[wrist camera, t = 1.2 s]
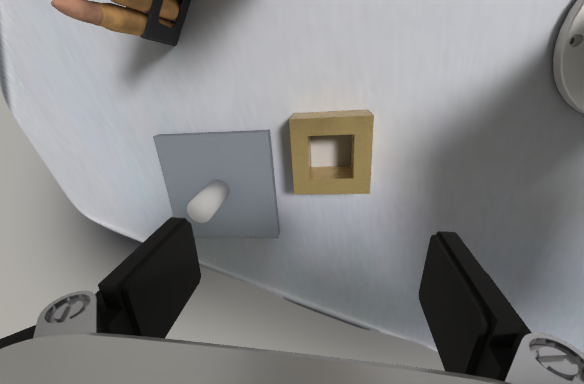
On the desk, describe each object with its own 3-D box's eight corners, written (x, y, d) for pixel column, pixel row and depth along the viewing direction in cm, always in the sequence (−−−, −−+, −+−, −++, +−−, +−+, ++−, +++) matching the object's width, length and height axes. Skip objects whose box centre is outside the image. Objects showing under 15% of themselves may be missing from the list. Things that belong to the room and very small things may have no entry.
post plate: (269, 129, 28) (255, 144, 23) (279, 233, 33) (269, 266, 27) (158, 134, 30) (120, 149, 24) (183, 232, 34) (155, 263, 29)
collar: (368, 109, 26) (373, 115, 23) (365, 179, 29) (369, 193, 26) (293, 113, 27) (289, 119, 24) (297, 180, 30) (294, 194, 27)
